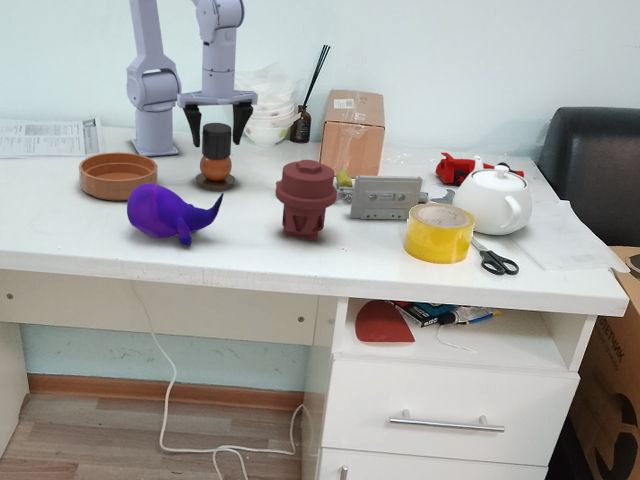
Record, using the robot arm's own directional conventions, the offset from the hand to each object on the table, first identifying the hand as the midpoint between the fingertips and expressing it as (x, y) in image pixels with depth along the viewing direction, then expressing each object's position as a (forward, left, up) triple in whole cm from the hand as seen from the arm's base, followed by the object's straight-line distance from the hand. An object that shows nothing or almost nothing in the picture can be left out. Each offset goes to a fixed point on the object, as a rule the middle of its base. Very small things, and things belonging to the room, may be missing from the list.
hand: (216, 144), depth 133 cm
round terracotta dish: (-2, -18, -8) cm, 20 cm away
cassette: (+21, +25, -8) cm, 34 cm away
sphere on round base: (0, 0, -8) cm, 8 cm away
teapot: (+27, +43, -8) cm, 51 cm away
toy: (+20, -13, -8) cm, 25 cm away
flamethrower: (+10, +24, -8) cm, 27 cm away
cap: (0, 0, -2) cm, 2 cm away
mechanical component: (+24, +8, -8) cm, 26 cm away
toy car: (+9, +54, -8) cm, 55 cm away
